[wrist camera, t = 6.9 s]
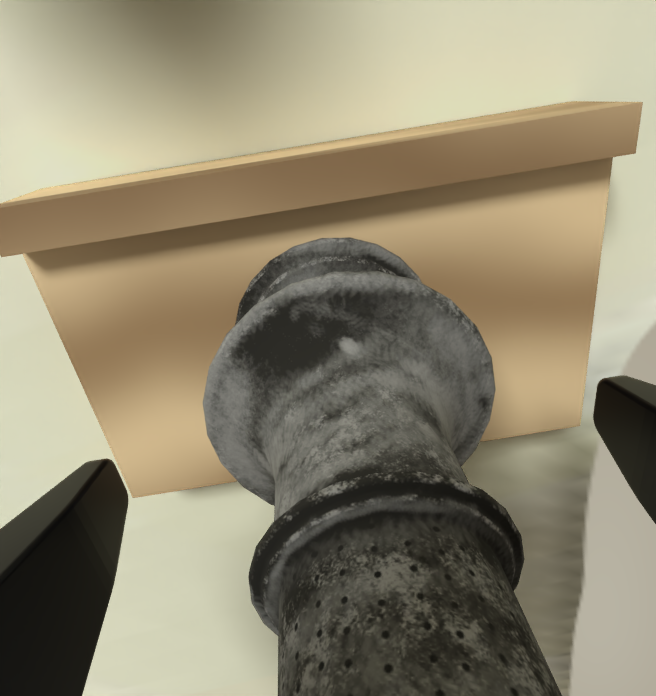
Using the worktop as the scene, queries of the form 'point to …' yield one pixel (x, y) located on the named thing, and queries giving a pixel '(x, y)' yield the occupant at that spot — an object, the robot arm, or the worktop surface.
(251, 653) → the worktop surface
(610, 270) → the worktop surface
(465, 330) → the salt shaker
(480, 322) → the dock
